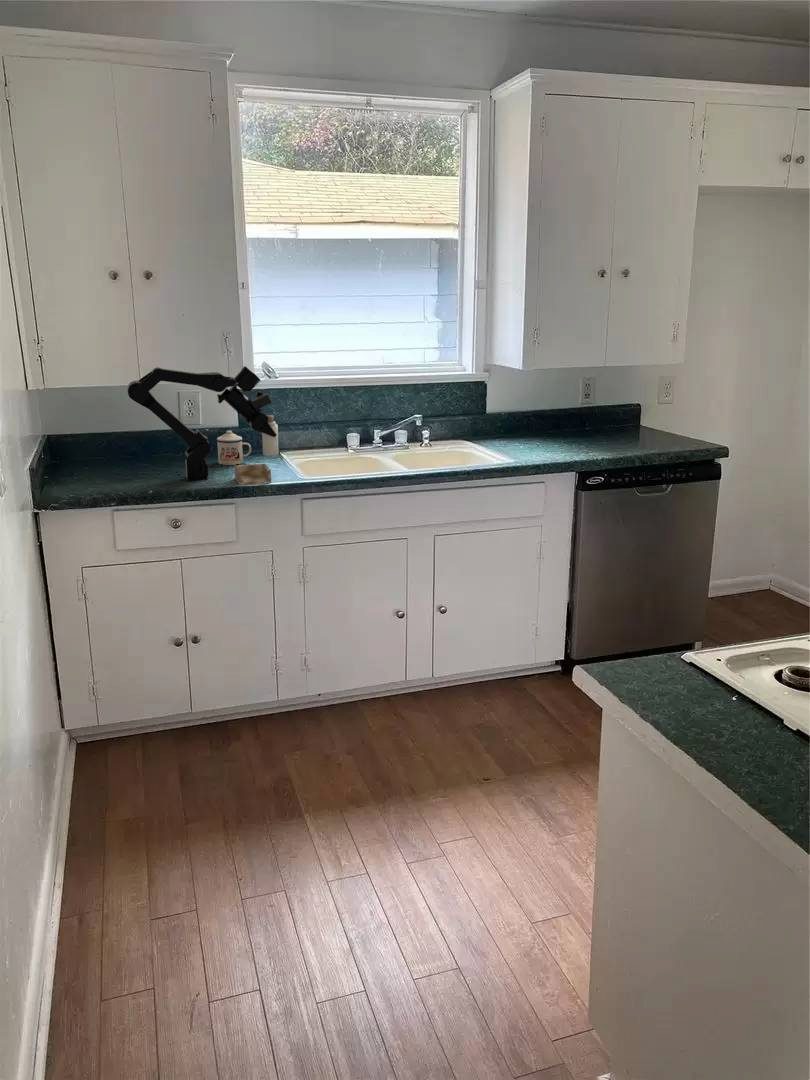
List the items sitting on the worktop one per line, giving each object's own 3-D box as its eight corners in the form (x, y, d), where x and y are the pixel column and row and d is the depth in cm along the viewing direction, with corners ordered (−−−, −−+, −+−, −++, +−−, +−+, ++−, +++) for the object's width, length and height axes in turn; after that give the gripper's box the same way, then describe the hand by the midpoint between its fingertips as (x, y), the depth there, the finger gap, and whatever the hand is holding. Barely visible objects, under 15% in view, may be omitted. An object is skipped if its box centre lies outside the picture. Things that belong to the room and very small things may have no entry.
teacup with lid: (217, 466, 294) (215, 433, 291) (218, 460, 303) (216, 428, 299) (251, 465, 296) (250, 432, 293) (251, 459, 305) (250, 428, 301)
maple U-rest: (240, 485, 267) (239, 472, 266) (235, 478, 276) (234, 465, 275) (271, 482, 271) (270, 470, 270) (265, 476, 280) (264, 463, 278)
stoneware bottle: (264, 456, 278) (263, 417, 274) (261, 453, 283) (260, 415, 279) (280, 455, 280) (278, 416, 276) (276, 452, 285) (275, 414, 281)
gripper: (260, 388, 265) (295, 421, 271) (252, 381, 282) (286, 413, 288) (236, 413, 265) (272, 446, 271) (230, 405, 282) (264, 436, 288)
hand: (274, 434), depth 280 cm, fingers closed on stoneware bottle, 5 cm apart
